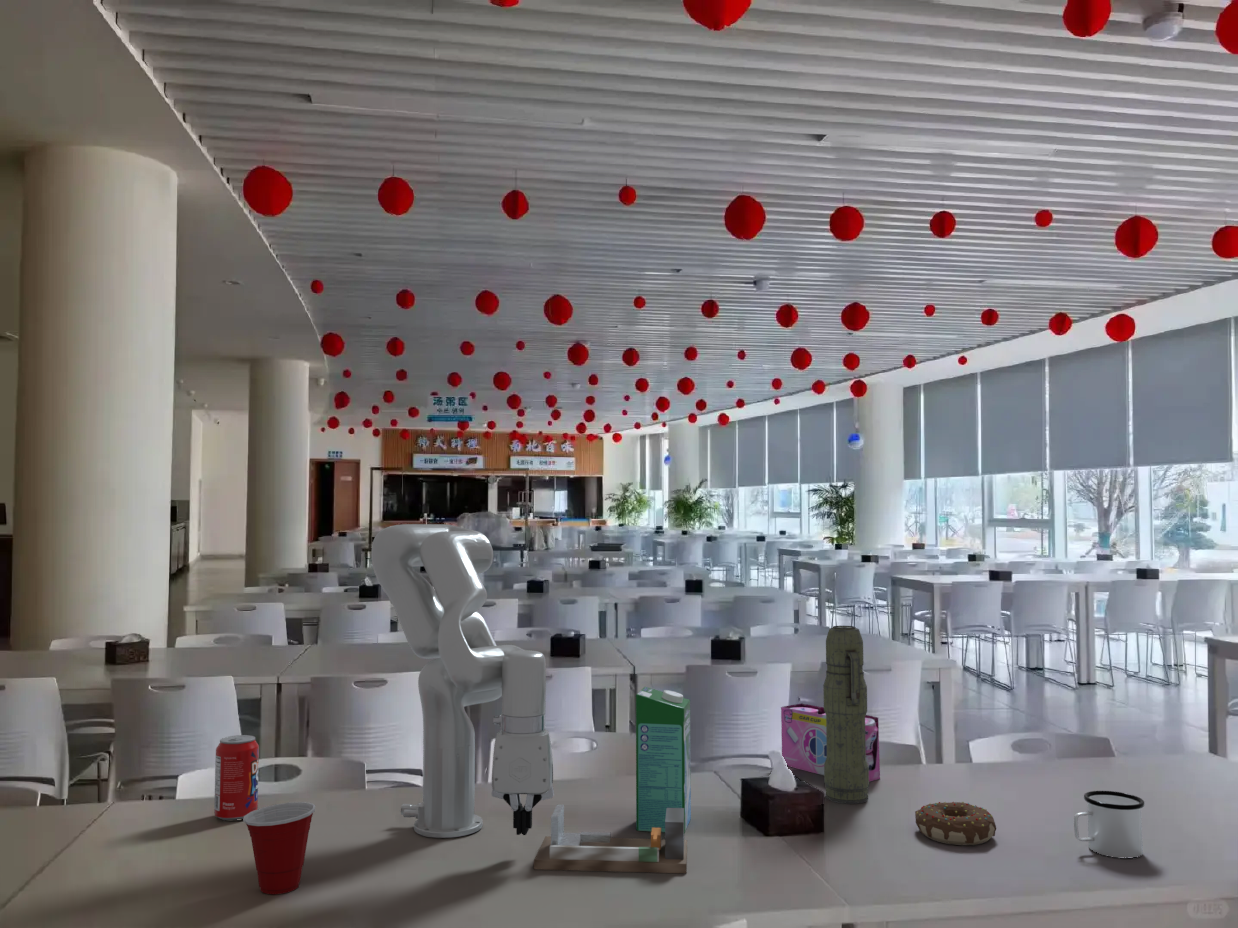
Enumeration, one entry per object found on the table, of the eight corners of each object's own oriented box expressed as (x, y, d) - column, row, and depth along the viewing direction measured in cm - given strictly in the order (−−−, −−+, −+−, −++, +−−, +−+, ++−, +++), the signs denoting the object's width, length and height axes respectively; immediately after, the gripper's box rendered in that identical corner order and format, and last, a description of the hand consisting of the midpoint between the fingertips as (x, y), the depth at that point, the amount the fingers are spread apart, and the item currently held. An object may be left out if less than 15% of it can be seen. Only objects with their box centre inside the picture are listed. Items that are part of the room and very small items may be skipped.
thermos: (851, 788, 207) (849, 623, 210) (880, 803, 196) (877, 629, 198) (814, 791, 205) (811, 624, 207) (840, 807, 194) (838, 630, 196)
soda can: (204, 820, 186) (206, 740, 187) (235, 808, 193) (236, 732, 194) (236, 824, 183) (238, 744, 184) (266, 813, 190) (267, 735, 191)
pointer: (650, 856, 159) (650, 838, 159) (652, 841, 166) (652, 825, 166) (659, 856, 159) (659, 839, 159) (661, 842, 166) (661, 825, 166)
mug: (1123, 841, 173) (1121, 789, 173) (1159, 859, 164) (1157, 804, 164) (1060, 844, 172) (1058, 791, 172) (1092, 862, 162) (1090, 807, 163)
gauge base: (533, 869, 159) (534, 822, 160) (545, 845, 171) (545, 801, 172) (686, 873, 157) (686, 826, 158) (687, 848, 169) (686, 804, 170)
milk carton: (684, 834, 177) (683, 695, 179) (636, 831, 179) (635, 693, 181) (690, 819, 186) (690, 687, 188) (644, 816, 188) (644, 685, 189)
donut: (1007, 835, 177) (1006, 807, 177) (977, 854, 167) (976, 825, 167) (932, 819, 186) (932, 793, 187) (899, 836, 176) (899, 808, 176)
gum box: (886, 780, 214) (885, 718, 215) (864, 786, 209) (863, 722, 210) (802, 760, 233) (801, 702, 233) (780, 765, 228) (779, 706, 228)
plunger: (550, 853, 162) (551, 816, 162) (557, 839, 169) (557, 804, 169) (608, 854, 161) (608, 817, 161) (612, 840, 168) (611, 805, 168)
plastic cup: (252, 876, 157) (254, 800, 157) (321, 874, 157) (322, 798, 158) (231, 902, 146) (233, 821, 146) (305, 900, 147) (307, 819, 147)
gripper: (475, 727, 164) (474, 838, 163) (563, 729, 163) (563, 841, 162) (485, 718, 171) (484, 824, 170) (569, 720, 170) (568, 826, 169)
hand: (522, 832), depth 166 cm, fingers closed
